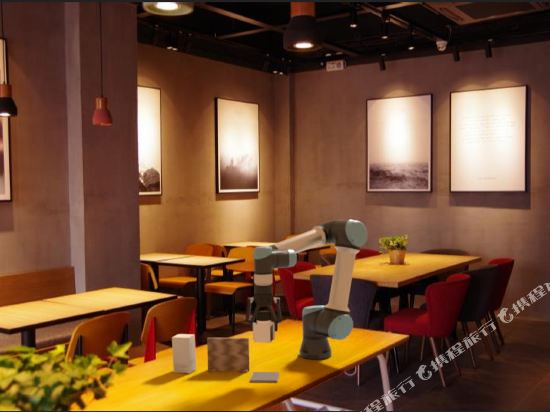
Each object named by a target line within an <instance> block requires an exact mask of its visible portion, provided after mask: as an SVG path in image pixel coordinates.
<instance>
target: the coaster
mask: <svg viewBox="0 0 550 412" xmlns="http://www.w3.org/2000/svg"><path fill="white" fill-rule="evenodd" d="M279 377H280V371H253V373H252V375H251V377H250V379H249V382H250V383H278V380H279Z"/></svg>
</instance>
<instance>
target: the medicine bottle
mask: <svg viewBox="0 0 550 412" xmlns="http://www.w3.org/2000/svg"><path fill="white" fill-rule="evenodd" d="M273 323H274V321H272V316H271V314H270V311H267V310H262V311H261V310H259V311H258V312H257V314H256V322H255V325H254V340H253V343H259V344H260V343H265V344H270V343H272V342H273V341H274V340H273Z"/></svg>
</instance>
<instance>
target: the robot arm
mask: <svg viewBox="0 0 550 412" xmlns="http://www.w3.org/2000/svg"><path fill="white" fill-rule="evenodd" d="M368 236H369V235H368V229H367V228H366V226H365V224H364V223H363V222H362V221H359V220H355V219H333V220H329V221H326V222H323V223H320V224H318V225H316V226H313V227H312V229H311V230H308V231H305V232H304V233H303V232H302V233H301V234H298V235H295V236H293V237H289V238H288V239H283V240H281V241H279V242H275V243H274V244H271V245H268V246H267V245H266V246H265V245H264V246H256V247H255V248H254V251H253V254H252V258H253V272H254V273H253V281H254V282H253V283H254V292H253V293H254V295H253V296H252V297H247V299H246V301H247V307H246V308H247V310H246V317H245V322H246V323H249V328H250V329H249V331H250V332H252V340H253V341H254V325H255V324H256V322H254V321H255V318H257V313H258V312H259V309H260V308H264V307H265V308H267V309H268V310H269V311H268V312H270V314H271V319H272V320H273V321H272V322H274V323H273V341H275V340H276V332H278V331H279V330H278V327H279V324H280V323H281V322H282V321H283V318H282V317H283V316H282V311H281V305H280V302H281V298H280V297H275V296H274V295H273V292H274V290H273V288H274V287H273V281H274V280H273V270H274V269H283V268H287V269H288V268H291V267H294V266H295V265H296V264H297V261H298V259H297V257H298V256H297V254H299V253H302V252H304V251H306V250H309V249H311V248H314V247H316V246H319V247H322V246H325V245H334V248H335V249H336V250H335V251H336V256H335V263H334V267H333V272H332V273H333V274H332V279H331V280H332V281H331V287H330V291H329V298H328V303H327V304H325V305H322V304H321V305H311V306H310V305H309V306H306V307H303V309H302V315H301V317H302V341H301V344H300V347H299V357H300V358H302V359H307V360H323V359H328V358H331V356H332V353H333V351H332V347H331V345H330V342H329V339H331V340H337V341H341V340H344V339H347V338H348V337H349V336H350V335H351V334H352V331H353V329H354V320H353V319H352V316H350V312H351V310H350V309H349V307H348V305H349V298H350V292H351V285H352V280H353V276H354V275H353V273H354V268H355V262H356V255H357V254H358V253H359V252H361V247H362V246H364V245H365V244H366V242H367V241H368ZM273 301H274V303H275V305H276V313H277V317H276V314H275V311H274V308H273V306H272V303H273ZM253 302H255V304H256V306H255V309H254V311H253V313H252V316H251V310H252V303H253ZM277 318H278V319H277Z"/></svg>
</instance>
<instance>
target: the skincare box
mask: <svg viewBox="0 0 550 412" xmlns="http://www.w3.org/2000/svg"><path fill="white" fill-rule="evenodd" d="M195 337H196V336H195V334H194V333H193V334H191V333H190V334H189V333H188V334H187V333H178V334H176V335H174V336H172V337H171V344H172V347H171V348H172V365H173V366H172V367H173V373H176V374H177V373H179V374H180V373H181V374H191V373H193V372H195V371H196V370H197V358H196V357H197V356H196V340H195V339H196V338H195Z"/></svg>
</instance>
